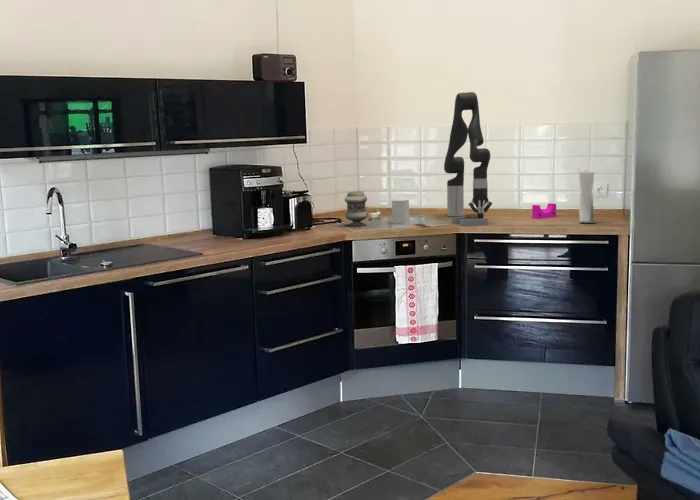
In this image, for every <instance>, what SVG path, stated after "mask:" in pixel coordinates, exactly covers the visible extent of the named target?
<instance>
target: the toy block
mask: <svg viewBox="0 0 700 500" xmlns="http://www.w3.org/2000/svg"><path fill="white" fill-rule="evenodd" d="M531 207H532V208H531V214H532V215H531V219H534V220H541V219H548V218H550V219H551V218H556V217H557V203H553V202H552V203H551V202H550V203H547V206H546V208H542V209H541V205H540V204H532V205H531Z"/></svg>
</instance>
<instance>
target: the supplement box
mask: <svg viewBox="0 0 700 500" xmlns="http://www.w3.org/2000/svg"><path fill="white" fill-rule="evenodd" d="M391 218H392V220H391V221H392V224H393V225H406V224H409V223H410V199H405V198H404V199H393V200H391Z"/></svg>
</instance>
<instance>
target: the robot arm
mask: <svg viewBox="0 0 700 500" xmlns="http://www.w3.org/2000/svg"><path fill="white" fill-rule="evenodd" d="M453 109H454V111H453V117H452V120H453V121H452V125H451V129H450V134H449V142H448V147H447V152H446V155H445V159H444V165H443V170H444V172H445V173H446V174H456V176H455V177H453V178H450V179H448V180H447V182H446V188H447V189H446V191H447V194H446V200H447V201H446V207H447V208H446V213H447V214H446V215H447V217H465V213H464V211H465V209H464V207H465V206H464V205H465V204H464V200H465V199H464V198H465V197H464V193H465V192H464V188H465V187H464V183H465V182H464V181H465V177H464V176H465V160H464V157H462V156H456V154H457V153H458V151H459V150H460V149H461V148H462V147H463V146H464V145H465V144H466V142H467V139H468V140H469V158H470V161H471V162H472V163H480V165H479V166H476V167H474V168H473V170H472V171H473V172H472V173H473V176H472V177H473V179H472V200H471V201H470V202H468V203H467V204H468V206H469V207H470V208H471V210H472V211H473V212H474V213H475V214H478V219H484V214H485V213H487V212H488V211H489V209H490V208H491V206H492V205H493V202H491V201H490V200H489V197H488V196H489V195H488V190H489V189H488V187H489V186H488V168H489V164H490V160H491V152H490V150H489V148H478V147H480V146H482V145H484V136H483V133H482V128H481V120H480V118H481V117H480V107H479V100H478V96H477V93H475V92H473V91H470V92H469V91H468V92H459V93H457V94H456V96H455V100H454V108H453ZM463 111H471V114H472V115H471V119H470V122H469V124H468V125H467V123H466V121H465V120H464V118H463V116H462V115H463Z"/></svg>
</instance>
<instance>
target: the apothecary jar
mask: <svg viewBox="0 0 700 500" xmlns="http://www.w3.org/2000/svg"><path fill="white" fill-rule="evenodd" d="M367 201H368V197H367V196H366V195H365V193H364V191H363V190H361V191H360V190H357V191H356V190H355V191H354V190H353V191H348V192H347V195H346V196H345V197H344V202H346V207H347V208H346V209H347V210H346V211H347V212H346V213H345V214H344V216H345V218H346V219H347V220H349V221H352V222H351V223H349V224H347V226H348V227H351V228H353V227H355V228H359V227H361V228H362V227H366V226H367V224H365V223H364V222H362V221H363V220H366V219H367V218H368V217H369V213H368V212H367V210H366V202H367Z"/></svg>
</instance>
